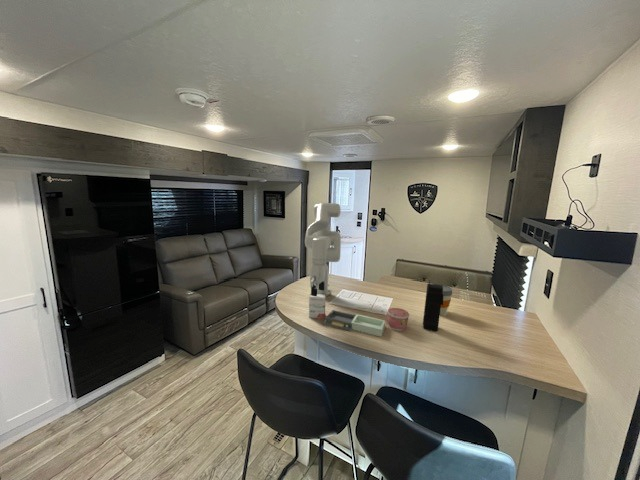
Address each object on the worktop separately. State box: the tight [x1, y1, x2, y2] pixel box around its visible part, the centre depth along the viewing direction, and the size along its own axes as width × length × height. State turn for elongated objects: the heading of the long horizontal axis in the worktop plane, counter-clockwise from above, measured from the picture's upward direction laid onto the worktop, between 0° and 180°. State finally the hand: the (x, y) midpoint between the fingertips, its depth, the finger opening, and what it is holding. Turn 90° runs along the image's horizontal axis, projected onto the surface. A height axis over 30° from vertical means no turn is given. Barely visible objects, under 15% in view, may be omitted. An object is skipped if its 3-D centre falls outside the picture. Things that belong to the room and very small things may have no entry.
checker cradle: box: [323, 309, 356, 332], centre depth 132 cm, size 14×14×3 cm
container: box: [386, 307, 410, 332], centre depth 128 cm, size 10×10×8 cm
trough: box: [351, 314, 386, 337], centre depth 127 cm, size 10×15×4 cm, turn 66°
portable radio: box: [422, 280, 443, 332], centre depth 127 cm, size 8×6×25 cm
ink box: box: [308, 293, 327, 319], centre depth 137 cm, size 9×5×12 cm, turn 84°
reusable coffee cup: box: [433, 283, 453, 316], centre depth 147 cm, size 12×13×15 cm
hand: (317, 292), depth 135 cm, fingers open, 9 cm apart
